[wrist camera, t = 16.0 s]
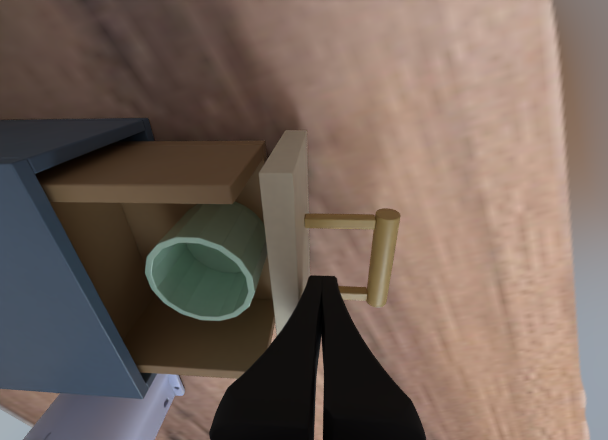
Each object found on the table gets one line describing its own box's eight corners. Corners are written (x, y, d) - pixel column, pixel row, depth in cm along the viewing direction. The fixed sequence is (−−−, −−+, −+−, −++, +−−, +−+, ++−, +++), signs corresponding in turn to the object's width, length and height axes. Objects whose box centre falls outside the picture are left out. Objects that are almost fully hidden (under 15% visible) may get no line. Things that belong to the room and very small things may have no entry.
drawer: (398, 129, 15) (440, 173, 9) (374, 305, 21) (390, 396, 16) (94, 131, 16) (-34, 171, 11) (158, 296, 23) (100, 376, 17)
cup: (193, 270, 20) (162, 318, 16) (172, 197, 17) (129, 235, 13) (272, 272, 19) (259, 323, 16) (264, 198, 16) (246, 238, 13)
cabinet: (148, 117, 16) (10, 163, 9) (199, 296, 23) (143, 399, 16) (-54, 120, 18) (-315, 163, 10) (53, 290, 25) (-59, 384, 18)
